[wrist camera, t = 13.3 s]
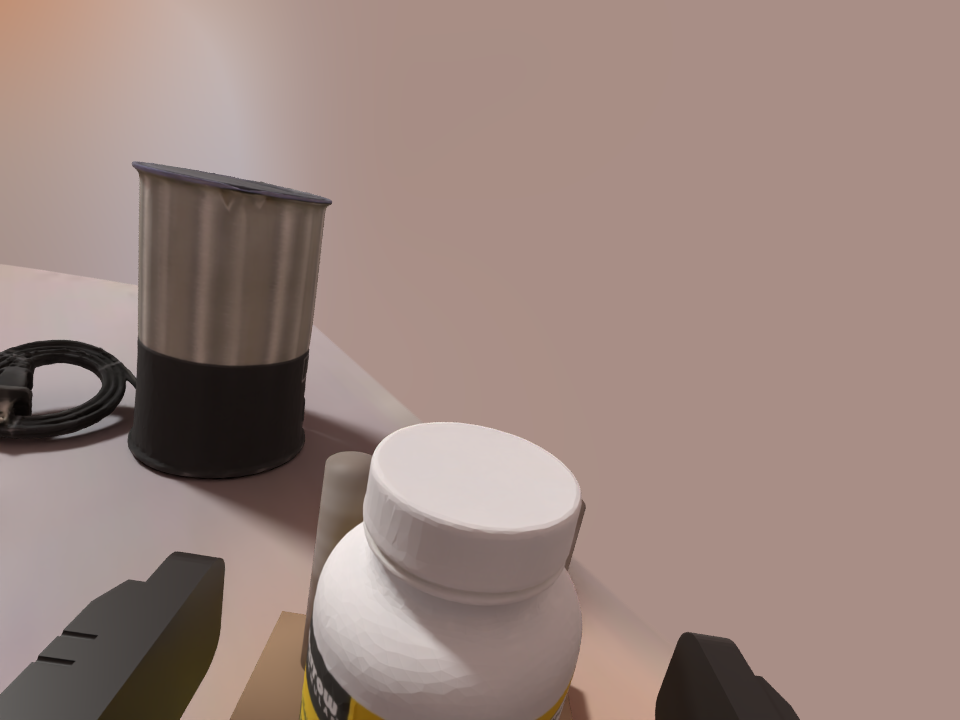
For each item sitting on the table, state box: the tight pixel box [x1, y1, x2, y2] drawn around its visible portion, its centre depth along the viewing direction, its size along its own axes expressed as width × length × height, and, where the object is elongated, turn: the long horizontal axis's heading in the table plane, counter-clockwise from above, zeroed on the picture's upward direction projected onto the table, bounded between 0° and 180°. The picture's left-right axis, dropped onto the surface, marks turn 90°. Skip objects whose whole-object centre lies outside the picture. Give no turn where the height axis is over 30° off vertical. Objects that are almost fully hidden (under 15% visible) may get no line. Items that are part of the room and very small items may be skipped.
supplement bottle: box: [299, 422, 582, 720], centre depth 11 cm, size 5×5×10 cm
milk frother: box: [0, 162, 332, 478], centre depth 28 cm, size 14×16×15 cm
